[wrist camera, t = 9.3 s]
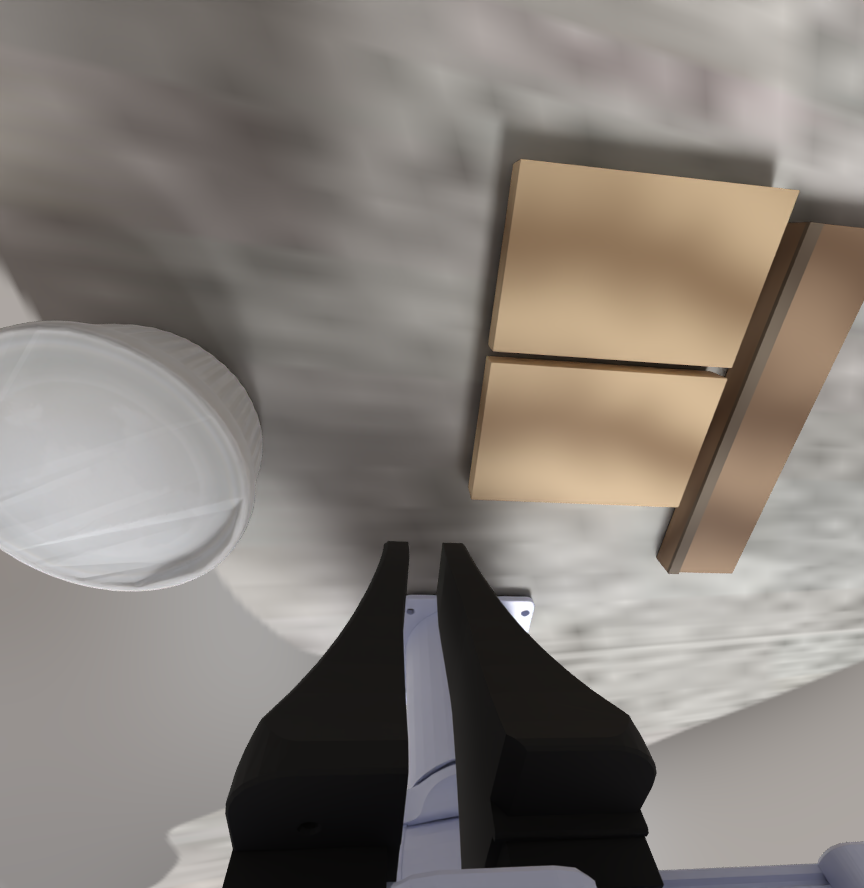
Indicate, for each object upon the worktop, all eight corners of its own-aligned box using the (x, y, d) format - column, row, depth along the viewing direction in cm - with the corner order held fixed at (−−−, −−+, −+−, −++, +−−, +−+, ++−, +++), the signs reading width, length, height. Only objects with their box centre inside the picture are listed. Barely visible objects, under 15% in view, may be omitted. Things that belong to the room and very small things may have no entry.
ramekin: (199, 556, 24) (149, 635, 20) (-13, 428, 20) (-138, 486, 16) (331, 423, 21) (311, 476, 17) (113, 243, 18) (6, 246, 13)
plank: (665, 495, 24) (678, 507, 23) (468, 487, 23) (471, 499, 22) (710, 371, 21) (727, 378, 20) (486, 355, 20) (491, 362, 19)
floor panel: (718, 559, 27) (733, 575, 25) (656, 557, 26) (668, 573, 25) (868, 231, 19) (900, 231, 18) (784, 222, 19) (811, 222, 17)
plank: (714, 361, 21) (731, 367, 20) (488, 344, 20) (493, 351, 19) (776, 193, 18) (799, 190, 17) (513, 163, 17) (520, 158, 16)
